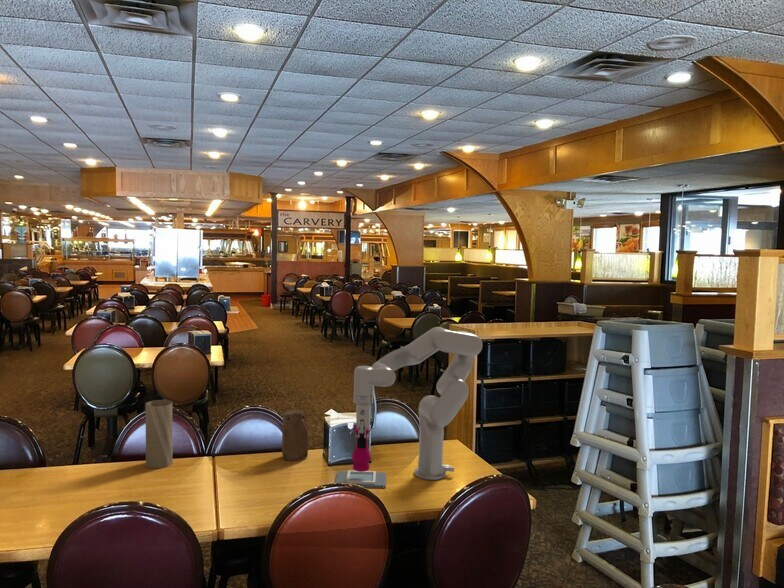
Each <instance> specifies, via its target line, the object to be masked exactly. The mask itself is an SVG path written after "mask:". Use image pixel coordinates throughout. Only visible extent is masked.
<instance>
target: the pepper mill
mask: <svg viewBox="0 0 784 588" xmlns="http://www.w3.org/2000/svg"><path fill="white" fill-rule="evenodd" d="M358 428H359V427H358ZM358 430H359V429H358ZM358 430H357V424H356V423H355V424H354V432H355V439H356V445H355V446H354V447H355V448H354V449H353V452H352V455H351V460H352V461H353V464H352V470H353V471H360V472H363V471H370V463H369V462H371V459H372V455H371V451H370V450H369V446H368V440H369V433H370V431H371V428H370V429H369V430H366V448H357V442H358ZM363 430H365V428H364V429H363ZM363 432H364V431H363Z"/></svg>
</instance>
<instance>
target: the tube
mask: <svg viewBox="0 0 784 588" xmlns="http://www.w3.org/2000/svg"><path fill="white" fill-rule="evenodd" d="M172 464H173V401H172V400H168V399H154V400H151V401H146V402H145V467H146V468H149V469H157V470H158V469H163V468H167V467H170V466H172Z"/></svg>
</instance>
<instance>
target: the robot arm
mask: <svg viewBox="0 0 784 588" xmlns="http://www.w3.org/2000/svg"><path fill="white" fill-rule="evenodd" d="M483 347H484V346H483V341H482V338H480V337H479V336H478V335H476V334H474V333H472V332H468V331H466V330H458V331H453V330H449V329H446V328H445V327H442V326H441V327H440V326H435V327H432V328H431V329H429V330H428V331H426V332H425V333H423V334H421V335H420V336H419V337H417V338H416V339H414V340H413V341H412V342H410V343H409V344H406V345H405V346H402V347H400V348H398V349H395V350H393V351H390V352H389V353H387V354H385V355H384V356H382V357H381V358H379V359H378V360H377V361H375V362H374V363H373V364H372V365H371V366H369V365H358V366H356V367H355V368H354V370H353V371H354V372H353V374H354V375H353V400H352V403H353V404H354V405H356V410H355V412H356V413H355V417H356V419H355V421H356V423H355V425H356V424H357V430H358V429H359V430H358V442H357V441H356V443H357V448H366V430H369V429H370V430H371V409H372V408H371V405H373V403H374V386H375V387H382V388H383V387H385V388H386V387H387V388H388V387H390V386H392V385H393V384H394V383H395V382H396V377H397V376H396V373H395V371H397V370H398V369H401V368H403V367H407V366H414V365H419V364H420V363H422V362H424V361H425V360H426V359H428V358H429V357H430V356H432V355H434V354H435V353H437V352H439V351H441V352H443V353H448V354H452V355H453V356H452V360H451V362H450V363H449V364H448V367H446V369H445V370H444V372H443V373H442V375H441V376H440V377H439V379H438V380H437V382H436V384H435V385H436V386H435V387H436V391H437V393H438V394H439V395H440V396H439V397H438V396H437V395H432V394H431V395H426V396H424V397H422V399H421V400H420V401H419V404H418V420H419V436H418V438H419V439H418V440H419V441H418V461H417V462H418V464H417V465H418V467H415V469H414V472H413V473H414V475H415V477H417V478H419V479H421V480H426V481H427V480H428V481H437V480H441V479H444V478H445V477H446V474H447V472H450V473H453V472H455V467H454V466H451V464H444V461H443V455H444V454H443V453H444V452H443V451H444V430H445V429H444V427H446V426H448V425H449V424H450V423H451V422H452V421H453V420H454V418H455V416H456V415H457V414H458V413H459V411H460V410H461V408H462V407H463V405H464V404H465V402H466V401H467V399H468V396H469V392H470V391H469V385H468V383H467V382H466V379H467V378H468V376H469V375H470V373H471V371H472V369H473V367H474V363H475V362H474V361H475V356H477V355H479V354H480V353H481V351H482V350H483ZM358 427H359V428H358ZM364 428H365V430H363V429H364ZM363 431H364V432H363Z"/></svg>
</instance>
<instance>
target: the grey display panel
mask: <svg viewBox="0 0 784 588" xmlns="http://www.w3.org/2000/svg"><path fill="white" fill-rule="evenodd" d="M386 481H387V472H385V471H384V472H382V471H381V472H380V471H379V472H377V471H376V470H367V471H363V472H360V471H355V470H346V471H345V470H342V471H341V470H340V471H339V470H338V471H337V475H336V479H335V482H334V484H335V483H352V484H356V485H360V486H363V487H367V488H366V489H368V488H369V489H374V488H375V489H382V488H381V487H384V488H383V489H387V488H386V487H387V482H386ZM363 487H362V488H363Z"/></svg>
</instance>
